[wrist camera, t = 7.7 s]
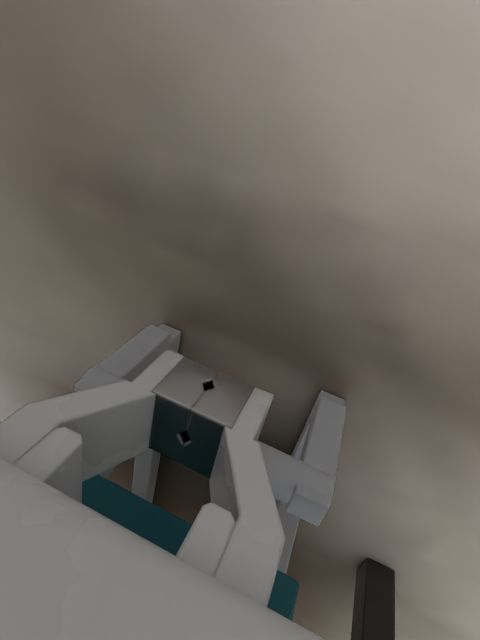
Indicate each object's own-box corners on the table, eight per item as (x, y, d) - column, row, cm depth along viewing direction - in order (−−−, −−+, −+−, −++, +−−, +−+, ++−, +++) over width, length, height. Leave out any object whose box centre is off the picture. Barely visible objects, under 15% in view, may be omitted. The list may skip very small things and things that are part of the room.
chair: (155, 307, 14) (-373, 693, 4) (362, 391, 12) (250, 1289, 3) (132, 499, 20) (-102, 827, 11) (266, 571, 19) (133, 1028, 9)
